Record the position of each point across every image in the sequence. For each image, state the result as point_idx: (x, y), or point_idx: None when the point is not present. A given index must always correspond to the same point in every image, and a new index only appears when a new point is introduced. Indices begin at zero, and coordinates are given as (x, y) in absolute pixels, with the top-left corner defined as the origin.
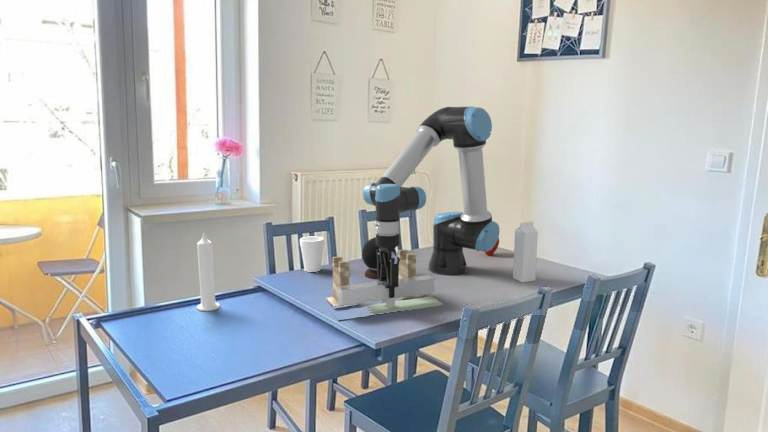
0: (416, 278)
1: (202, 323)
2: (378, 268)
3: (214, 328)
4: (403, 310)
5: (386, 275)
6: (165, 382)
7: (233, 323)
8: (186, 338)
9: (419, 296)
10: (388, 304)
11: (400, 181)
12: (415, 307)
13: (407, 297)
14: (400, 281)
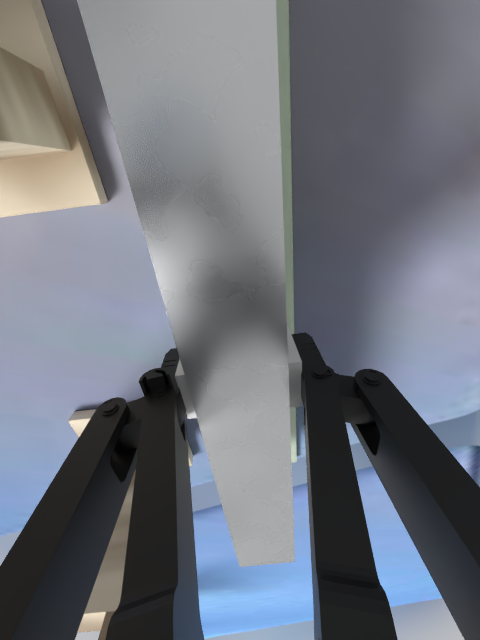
0: (188, 92)
1: (217, 595)
2: (113, 529)
3: (246, 587)
4: (292, 252)
5: (178, 435)
6: (406, 601)
7: (231, 575)
8: (275, 601)
9: (53, 39)
10: None
11: None
12: (286, 175)
13: (90, 157)
14: (252, 319)
